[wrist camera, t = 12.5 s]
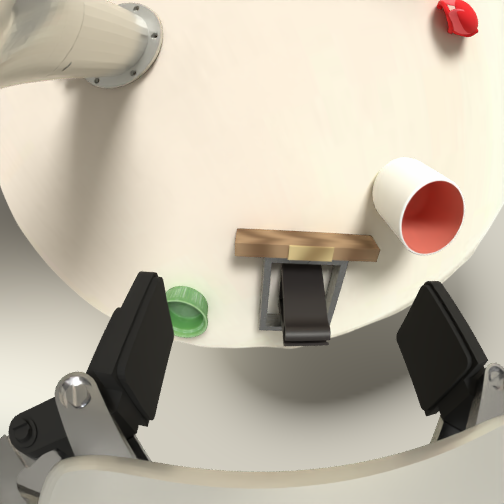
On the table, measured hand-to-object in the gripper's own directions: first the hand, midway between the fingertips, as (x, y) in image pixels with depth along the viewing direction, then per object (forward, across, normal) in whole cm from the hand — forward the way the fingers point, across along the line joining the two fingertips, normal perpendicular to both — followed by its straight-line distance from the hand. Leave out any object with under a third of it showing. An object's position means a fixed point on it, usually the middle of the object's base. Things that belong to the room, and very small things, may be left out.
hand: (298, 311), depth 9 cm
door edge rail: (+28, -6, +13) cm, 31 cm away
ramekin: (+28, +12, +27) cm, 41 cm away
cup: (+28, -19, +4) cm, 34 cm away
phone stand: (+28, -6, +22) cm, 36 cm away
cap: (+28, -25, -25) cm, 45 cm away
